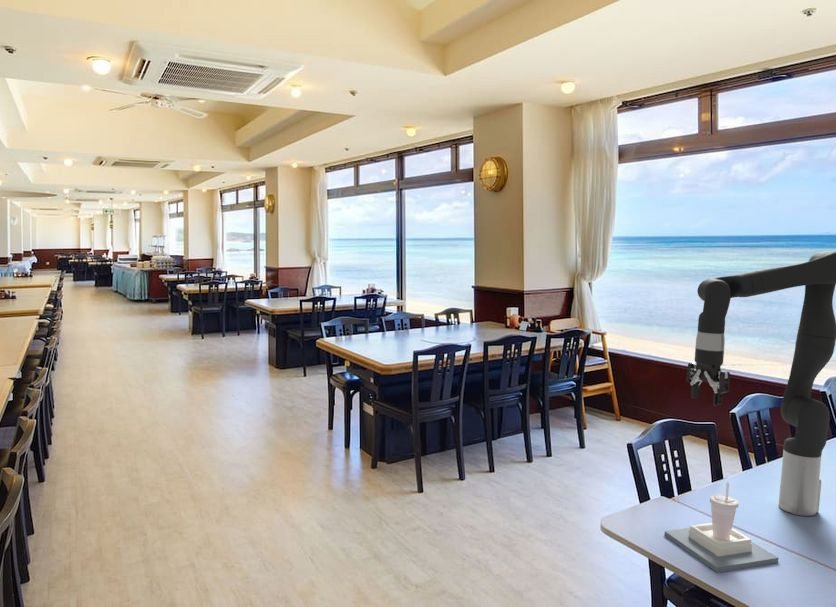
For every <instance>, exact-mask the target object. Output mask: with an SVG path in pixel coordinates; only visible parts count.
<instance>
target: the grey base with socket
mask: <svg viewBox="0 0 836 607" xmlns="http://www.w3.org/2000/svg"><path fill="white" fill-rule="evenodd" d="M664 537H665V538H667V539H669V540H670V541H672V542H673V543H675V544H676V545H677V546H679V547H680V548H682V549H683V550H685V551H686V552H687V553H689V554H690V555H691V556H693V557H694V558H695V559H697V560H699V561H700V562H702V563H703V564H704V565H705V566H707V567H709V568H710V569H711V570H713V571H714V572H716V573H721V572H727V571H735V570H741V569H746V568H753V567H759V566H765V565H772V564H777V563H779V557H778V556H776V555H775V554H773V553H771V552H769V551H768V550H767V549H765V548H763V547H761V546H760V545H758V544H756V543H755V542H753V541H752V539H751V538H750V537H748V536H746V535H745V534H743V533H741V532H739V531H738V530H736V529H735V528H733V527H732V530H731V534H730V539H729V540H720V539H717V538H715V537H714V536H713V527H712V522H708V523H700V524H694V525H690V526H689V527H686V528H685V527H684V528H678V529H669V530H664Z"/></svg>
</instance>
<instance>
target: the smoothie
mask: <svg viewBox="0 0 836 607" xmlns="http://www.w3.org/2000/svg"><path fill="white" fill-rule="evenodd" d="M729 490H730V482H726V487H725V494H711V495H710V496H709V500H708V502H710V508H711V523H712V527H713V536H714V537H715V538H717V539H720V540H729V539H730V534H731V530H732V528H733V525H734V522H735V521H734V520H735V516H736V512H737V508H739V501H738V500H737V499H736V498H734V497H732V496H729Z"/></svg>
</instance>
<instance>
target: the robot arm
mask: <svg viewBox="0 0 836 607" xmlns="http://www.w3.org/2000/svg"><path fill="white" fill-rule="evenodd" d="M802 286H804V296H803V303H802V309H801V313H800V320H799V324H798V328H797V335H796V339H795V348H794V353H793V358H792V363H791V368H790V373H789V378H788V380H787V382H786V383H787V384H786V387H785V390H784V393H783V395H782V396H783V397H782V400H781V404H780V415H781V417H782V420H783V421H784V422H786V423H787V424H789V425H791V426H793V427H796V431H795V437H788V438H785V439H784V441H783V450H782V461H781V462H782V465H781V474H780V485H779V494H778V495H779V496H778V507H779V508H780V509H781V510H783V511H784V512H788V513H790V514H793V515H796V516H802V517H812V516H816V514H817V513H819V511H820V500H821V499H820V498H821V490H822V480H821V478H820V476H821V464H822V463H821V462H822V456H823V455H822V454H823V450H824V448H825V447H826V443H827V438H828V434H829V427H830V420H831V419H830V416H831V415H830V410H829V408H828V406H827V405H826V404H825V403H824V402H822V401H821V400H820V401H819V400H817V399H814V398H811V396H812V390H813V386H814V382H815V380H816V378H817V376H818V375H819V374H820V372H821V371H822V370H823V369H824V367H825V366H827V364H828V363H829V361H830V360H831V358H832V356H833V355H834V351H835V346H836V317H835V311H834V304H833V300H834V293H835V289H836V250H822V251H819V252H816V253H814V254H813V255H812V256H811V257H810V258H809V259H808V260H807V261H806V262H801V263H796V264H790V265H783V266H776V267H775V266H774V267H769V268H768V267H766V268H761V269H755V270H751V271H746V272H742V273H738V274H733V275H727V276H724V275H723V276H718V277H711V278H708V279H704V280H703V281H702V282H701V283H699V285H698V287H697V296H698V297H699V298H700V300H702V301H703V307H702V312H701V313H700V314H699V315H698V320H697V321H698V322H697V333H696V338H695V348H694V350H695V351H694V362H689V363H688V364H687V371H686V379H685V380H686V382H687V383H689V384H690V386H691V389H690V390H691V391H690V396H691V399H694V400H695V399H696V400H697V399H700V393H701V386H700V385H701V384H702V382H705V383H708V384H709V386H710V387H711V388H712V390H713V391H714V392H713V400H712V405H713V406H715V407H721V406H722V404H723V394H724V393H729V392H730V381H731V380H730V379H731V377H730V376H731V373H730V372H729V371H723V370H721V369H722V368H721V366H722V365H724V357H725V346H726V345H725V342H726V341H725V340H726V338H725V331H726V330H725V329H726V317H727V314H728V310H729V308H730V303H731V299H732V298H748V297H754V296H758V295H763V294H769V293H773V292H778V291H781V290H785V289H791V288H792V289H793V288H798V287H802Z"/></svg>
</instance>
